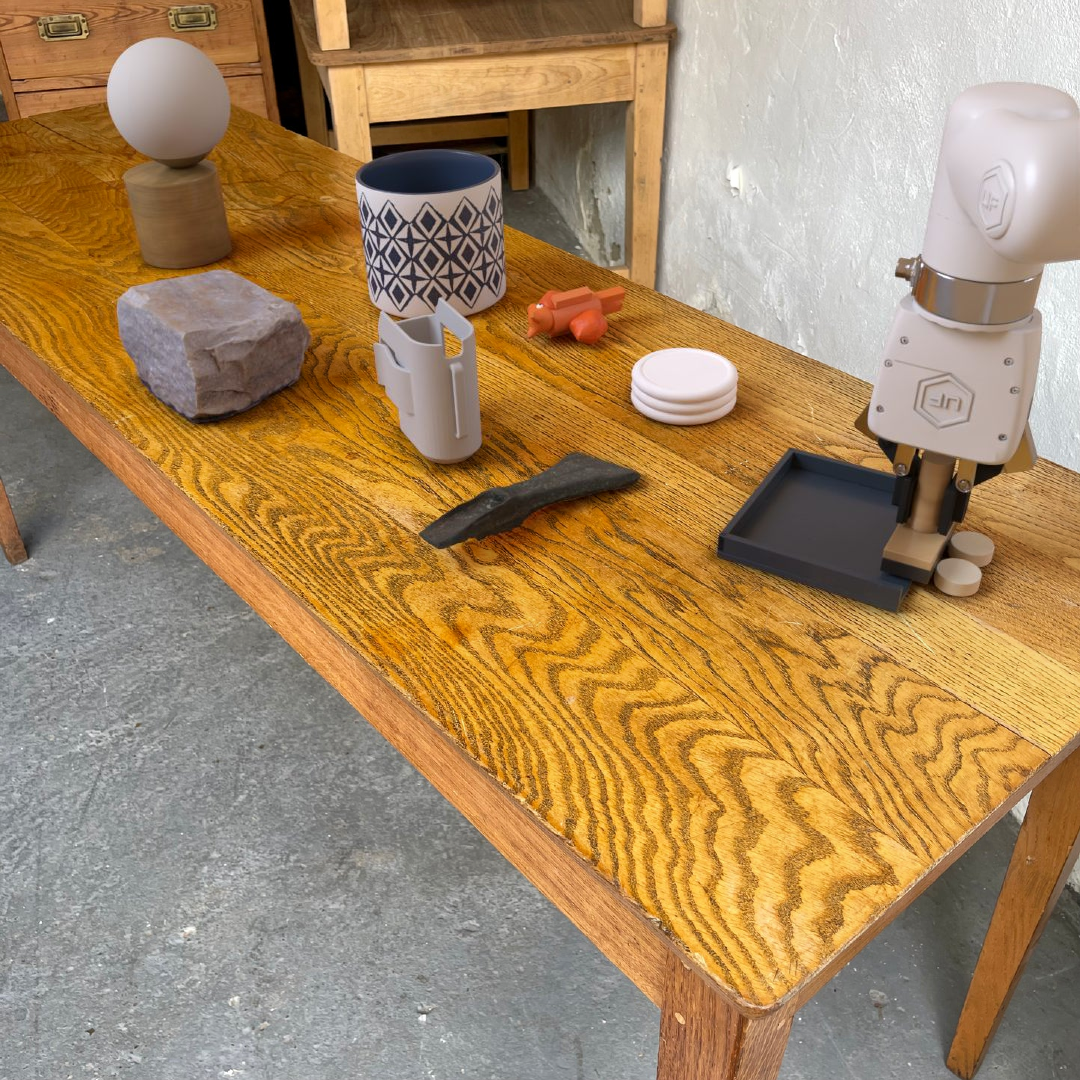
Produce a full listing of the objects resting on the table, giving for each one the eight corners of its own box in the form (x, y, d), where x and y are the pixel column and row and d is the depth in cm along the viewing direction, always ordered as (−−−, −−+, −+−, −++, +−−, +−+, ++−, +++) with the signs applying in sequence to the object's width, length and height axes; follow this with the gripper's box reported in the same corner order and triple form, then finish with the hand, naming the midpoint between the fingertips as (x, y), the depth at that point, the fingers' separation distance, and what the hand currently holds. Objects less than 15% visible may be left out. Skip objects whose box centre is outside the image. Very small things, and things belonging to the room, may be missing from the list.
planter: (527, 307, 125) (522, 180, 117) (392, 334, 120) (377, 203, 112) (479, 260, 137) (471, 141, 129) (354, 282, 132) (338, 161, 124)
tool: (580, 465, 100) (580, 433, 98) (646, 489, 95) (647, 457, 93) (400, 545, 87) (397, 510, 85) (466, 578, 82) (464, 542, 80)
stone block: (333, 298, 108) (195, 313, 97) (330, 411, 112) (198, 436, 102) (237, 264, 117) (102, 274, 107) (238, 369, 122) (109, 388, 112)
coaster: (659, 436, 101) (661, 402, 99) (613, 389, 108) (614, 357, 106) (755, 414, 104) (758, 380, 102) (704, 370, 111) (706, 338, 109)
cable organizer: (442, 405, 107) (431, 287, 100) (497, 463, 98) (490, 338, 91) (377, 422, 104) (362, 303, 97) (428, 483, 95) (415, 357, 88)
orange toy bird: (612, 264, 119) (516, 289, 115) (649, 307, 116) (551, 334, 111) (604, 301, 123) (510, 326, 119) (639, 343, 120) (544, 371, 115)
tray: (951, 511, 90) (956, 489, 89) (896, 613, 79) (900, 590, 78) (787, 467, 96) (789, 446, 95) (716, 557, 86) (718, 535, 84)
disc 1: (995, 550, 85) (998, 537, 85) (986, 572, 83) (989, 559, 82) (953, 539, 87) (956, 526, 86) (942, 560, 84) (945, 547, 84)
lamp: (190, 222, 151) (148, 23, 137) (276, 234, 147) (242, 30, 132) (114, 261, 140) (59, 49, 126) (205, 275, 135) (159, 57, 121)
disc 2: (983, 578, 82) (986, 565, 82) (972, 602, 80) (975, 588, 80) (940, 565, 84) (943, 553, 83) (928, 588, 82) (931, 575, 81)
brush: (958, 523, 87) (979, 434, 82) (927, 584, 80) (947, 492, 76) (913, 511, 88) (931, 423, 83) (879, 570, 82) (896, 479, 77)
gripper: (836, 286, 73) (805, 516, 84) (1098, 334, 66) (1027, 579, 77) (871, 248, 78) (837, 470, 89) (1118, 290, 71) (1049, 525, 82)
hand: (926, 518), depth 83 cm, fingers closed on brush, 2 cm apart
